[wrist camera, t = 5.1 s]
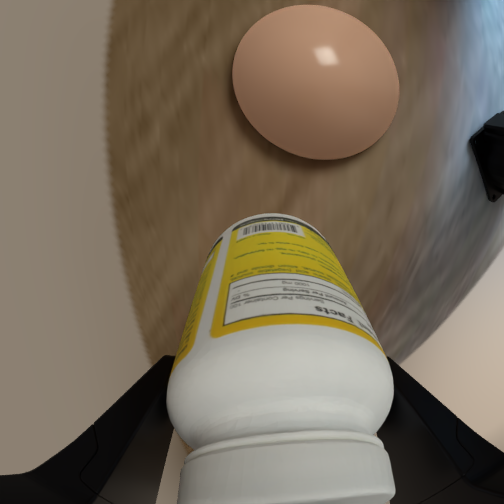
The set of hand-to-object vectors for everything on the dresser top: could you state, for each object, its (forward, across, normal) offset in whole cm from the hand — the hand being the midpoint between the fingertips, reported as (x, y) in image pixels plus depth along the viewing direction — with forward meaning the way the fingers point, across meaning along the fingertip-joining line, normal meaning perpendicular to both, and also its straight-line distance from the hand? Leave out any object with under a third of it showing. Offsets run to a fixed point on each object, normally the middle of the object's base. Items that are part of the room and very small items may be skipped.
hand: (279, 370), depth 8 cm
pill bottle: (+6, 0, 0) cm, 6 cm away
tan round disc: (+13, -3, -10) cm, 17 cm away
